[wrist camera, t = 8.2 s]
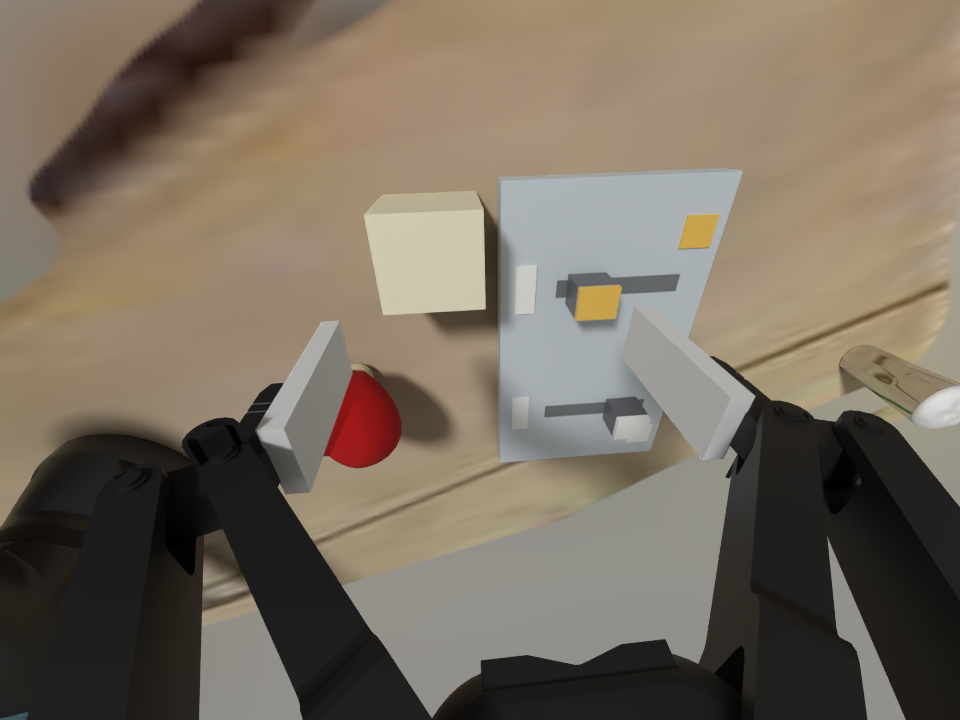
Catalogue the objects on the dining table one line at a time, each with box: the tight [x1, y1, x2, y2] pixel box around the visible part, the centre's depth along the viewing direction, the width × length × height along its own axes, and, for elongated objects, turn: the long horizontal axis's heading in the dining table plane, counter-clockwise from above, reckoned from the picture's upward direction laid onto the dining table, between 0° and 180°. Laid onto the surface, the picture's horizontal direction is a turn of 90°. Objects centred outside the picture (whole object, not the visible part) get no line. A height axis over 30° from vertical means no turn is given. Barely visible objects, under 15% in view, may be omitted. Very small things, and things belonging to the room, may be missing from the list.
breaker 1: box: [565, 272, 622, 321], centre depth 28 cm, size 3×2×3 cm
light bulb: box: [323, 364, 401, 468], centre depth 30 cm, size 9×7×10 cm
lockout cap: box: [364, 191, 486, 315], centre depth 25 cm, size 7×6×7 cm
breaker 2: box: [602, 397, 651, 440], centre depth 35 cm, size 3×2×3 cm
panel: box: [498, 168, 743, 463], centre depth 33 cm, size 17×28×2 cm, turn 2°
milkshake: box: [840, 345, 960, 429], centre depth 34 cm, size 4×5×10 cm
